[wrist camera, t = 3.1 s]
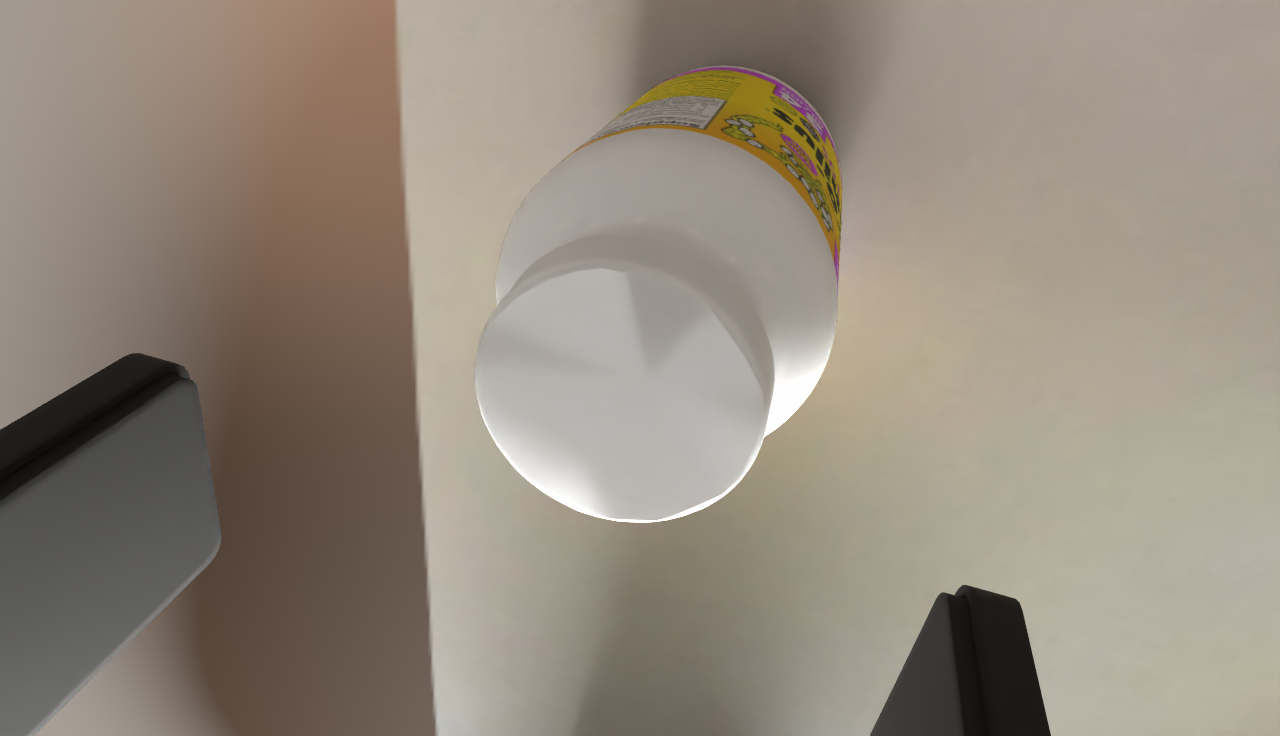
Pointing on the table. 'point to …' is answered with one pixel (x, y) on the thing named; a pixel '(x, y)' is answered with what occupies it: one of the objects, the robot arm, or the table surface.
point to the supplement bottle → (666, 297)
